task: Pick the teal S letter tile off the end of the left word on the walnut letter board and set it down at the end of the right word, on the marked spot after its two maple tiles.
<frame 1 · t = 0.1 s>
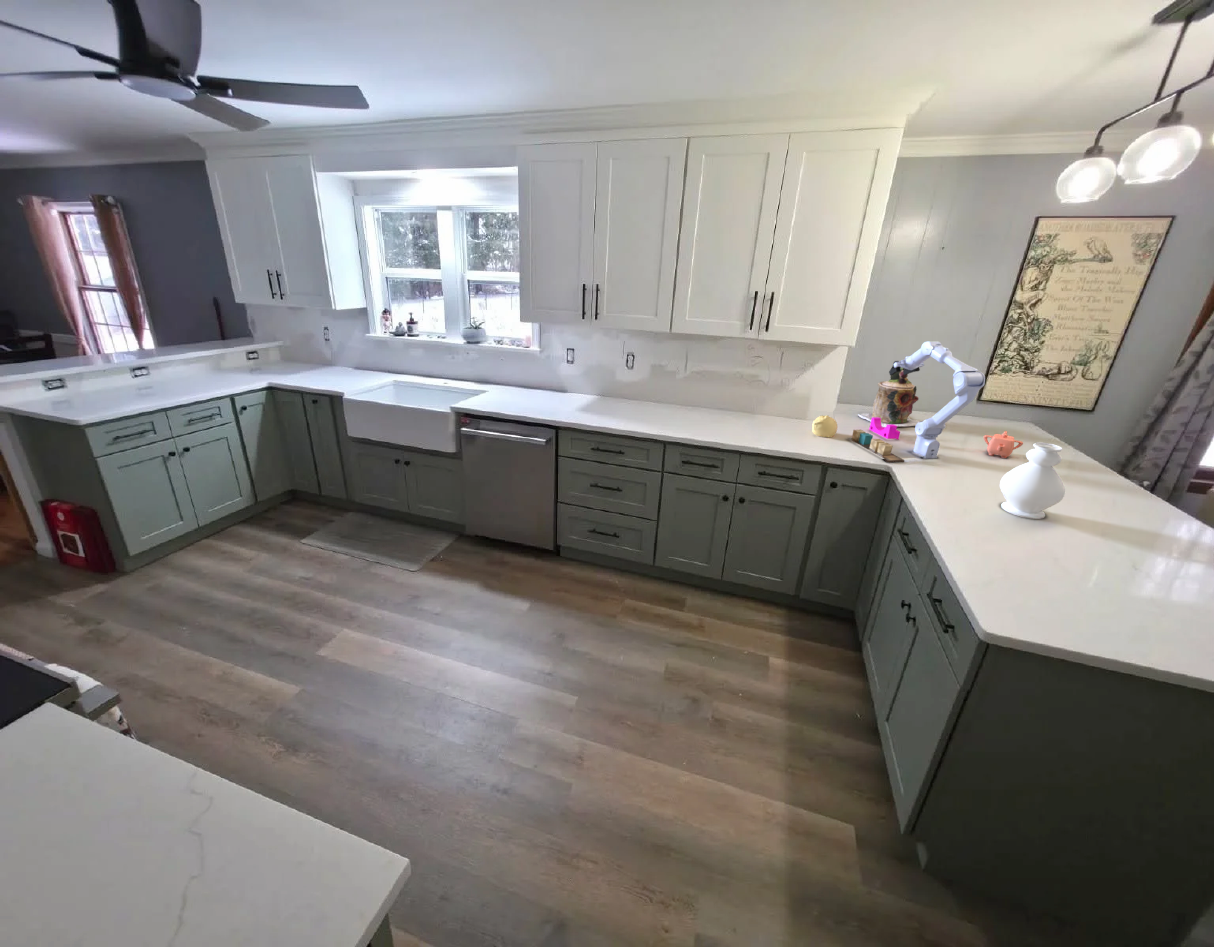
hand: (897, 373, 243), 32 cm above the countertop, tool tilted 50°, fingers open, 7 cm apart
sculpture: (822, 436, 253), on the countertop
decorative vase: (1022, 511, 179), on the countertop
letter board: (873, 450, 235), on the countertop
teapot: (997, 455, 232), on the countertop
s tile: (864, 443, 241), point 1 cm above the countertop, touching letter board
cookie jar: (889, 421, 278), on the countertop
toy block: (882, 435, 255), on the countertop
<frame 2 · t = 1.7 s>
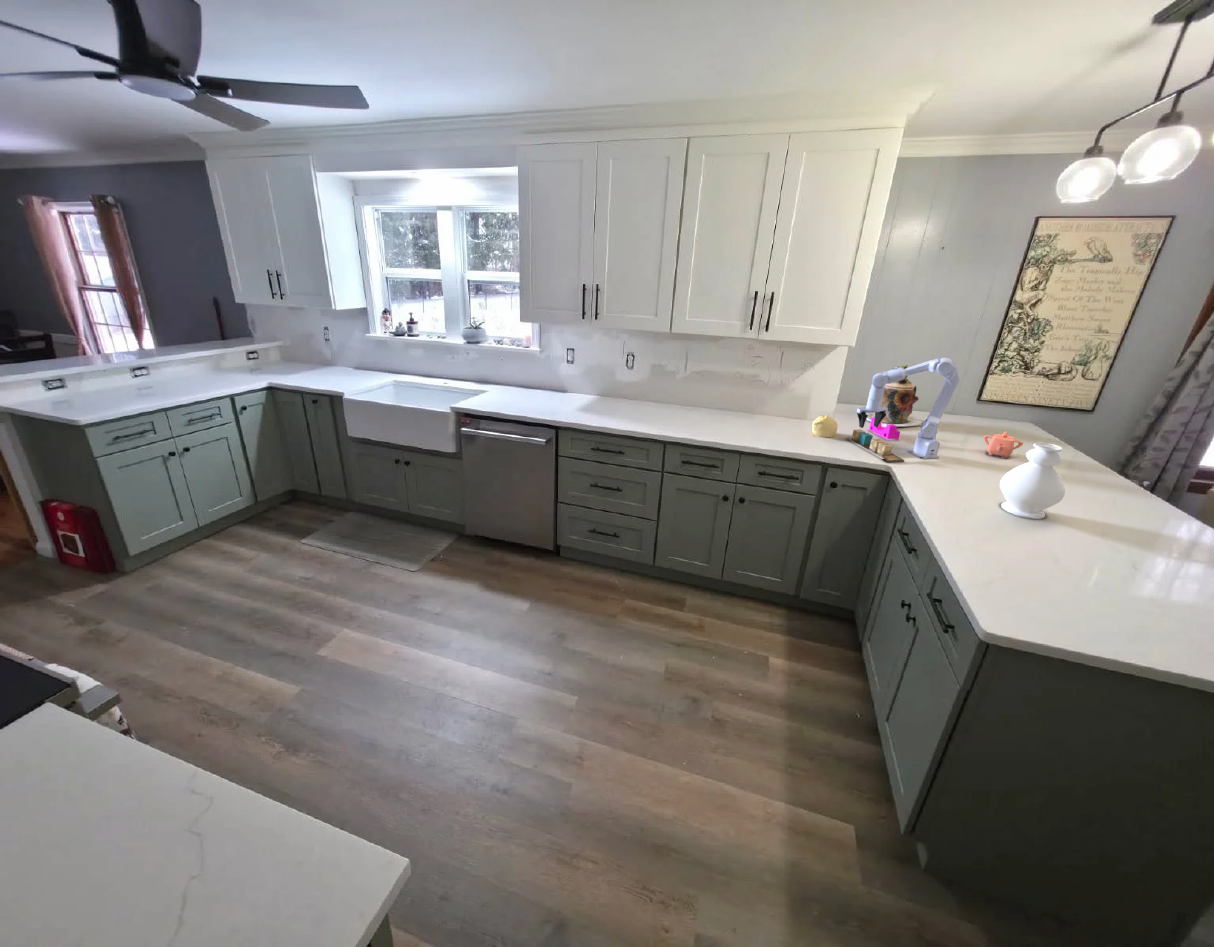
hand: (868, 426, 238), 9 cm above the countertop, tool pointing down, fingers open, 7 cm apart
nothing on the countertop moved.
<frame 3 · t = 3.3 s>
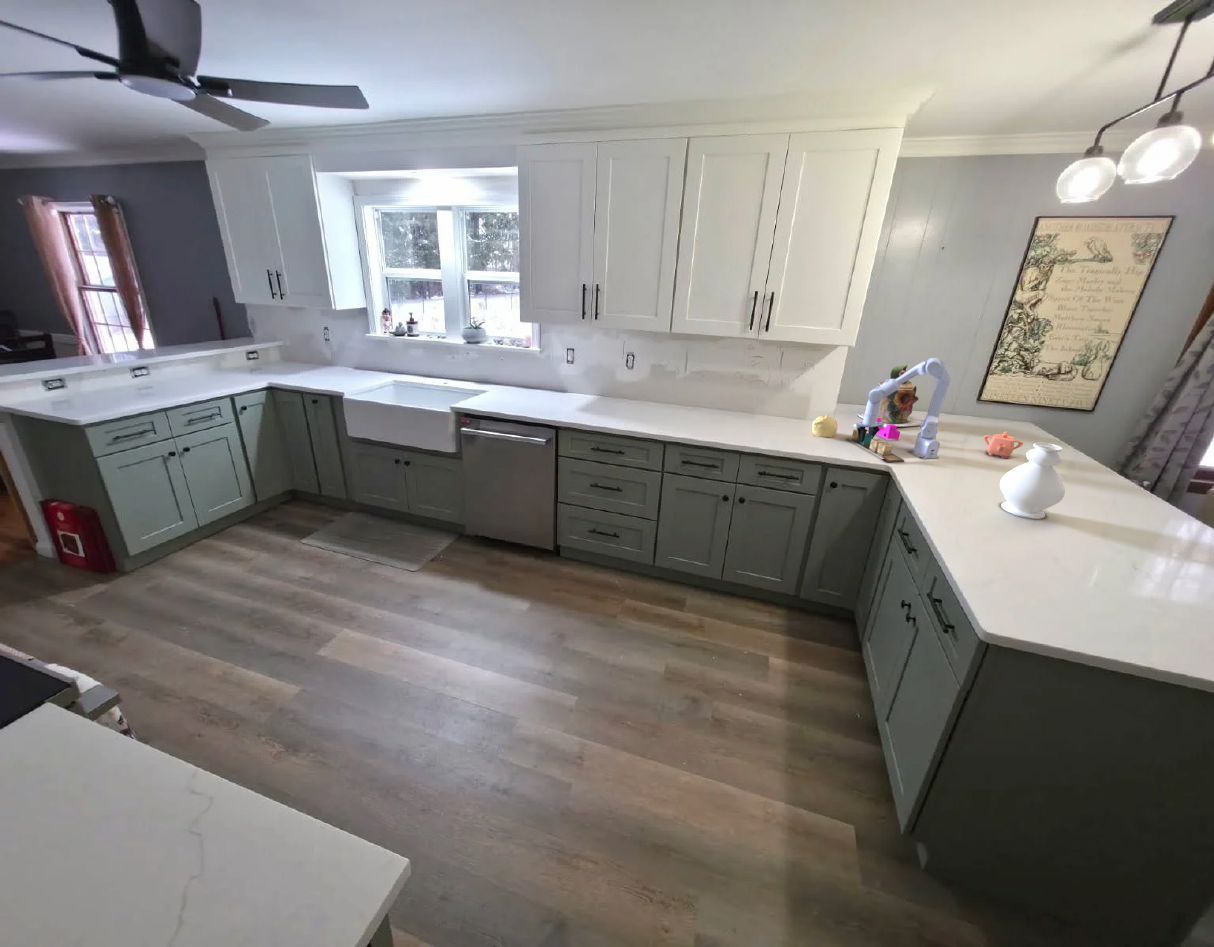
hand: (865, 441, 241), 2 cm above the countertop, tool pointing down, fingers closed on s tile, 4 cm apart
s tile: (864, 443, 241), point 1 cm above the countertop, touching gripper, letter board
everything else where it was.
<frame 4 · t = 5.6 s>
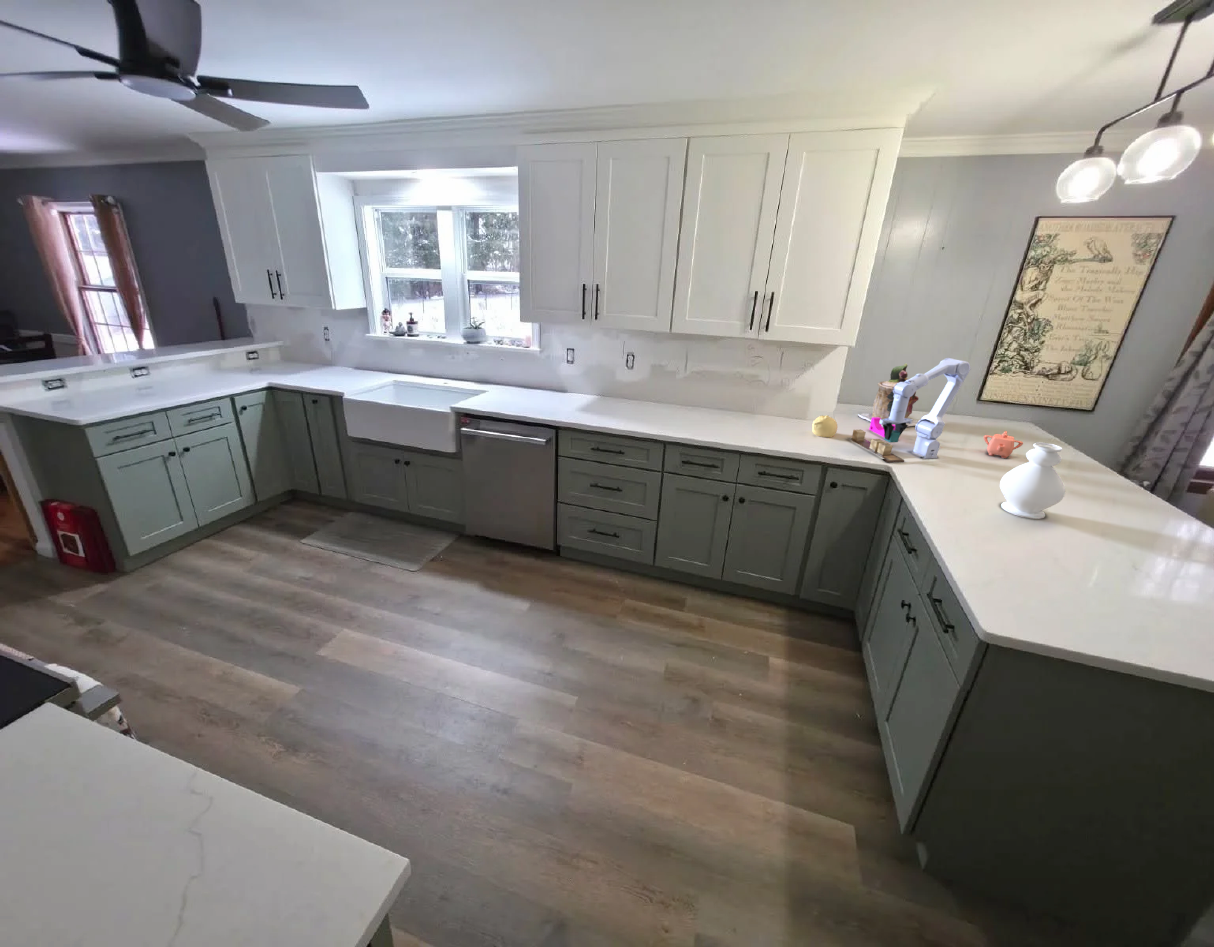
hand: (891, 439, 223), 9 cm above the countertop, tool pointing down, fingers closed on s tile, 4 cm apart
s tile: (890, 440, 223), point 8 cm above the countertop, touching gripper
everything else where it was.
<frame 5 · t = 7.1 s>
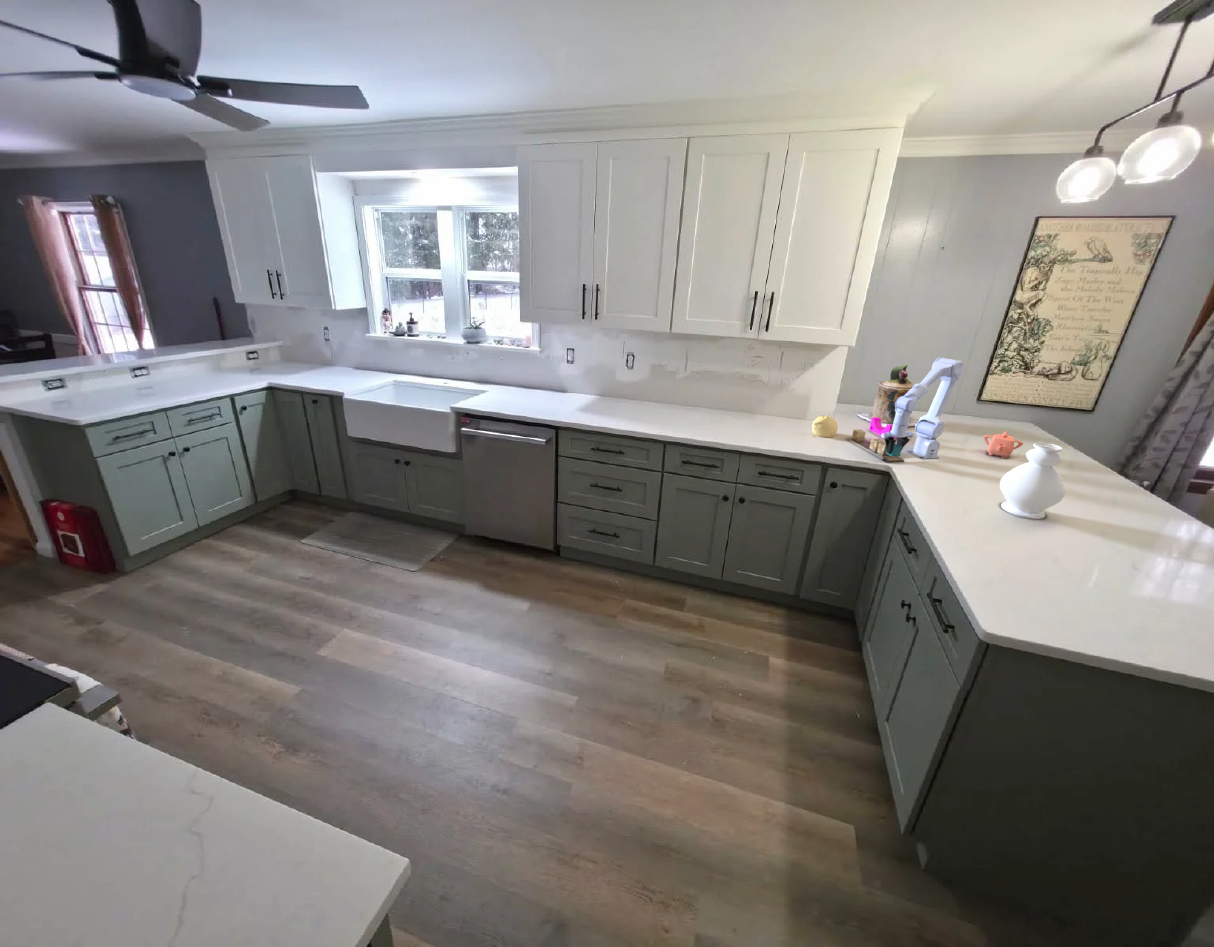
hand: (893, 452, 222), 3 cm above the countertop, tool pointing down, fingers closed on s tile, 4 cm apart
s tile: (892, 454, 223), point 3 cm above the countertop, touching gripper
everything else where it was.
when the fingers open (2 cm above the countertop, at t = 8.0 s): s tile stays where it is, resting on letter board.
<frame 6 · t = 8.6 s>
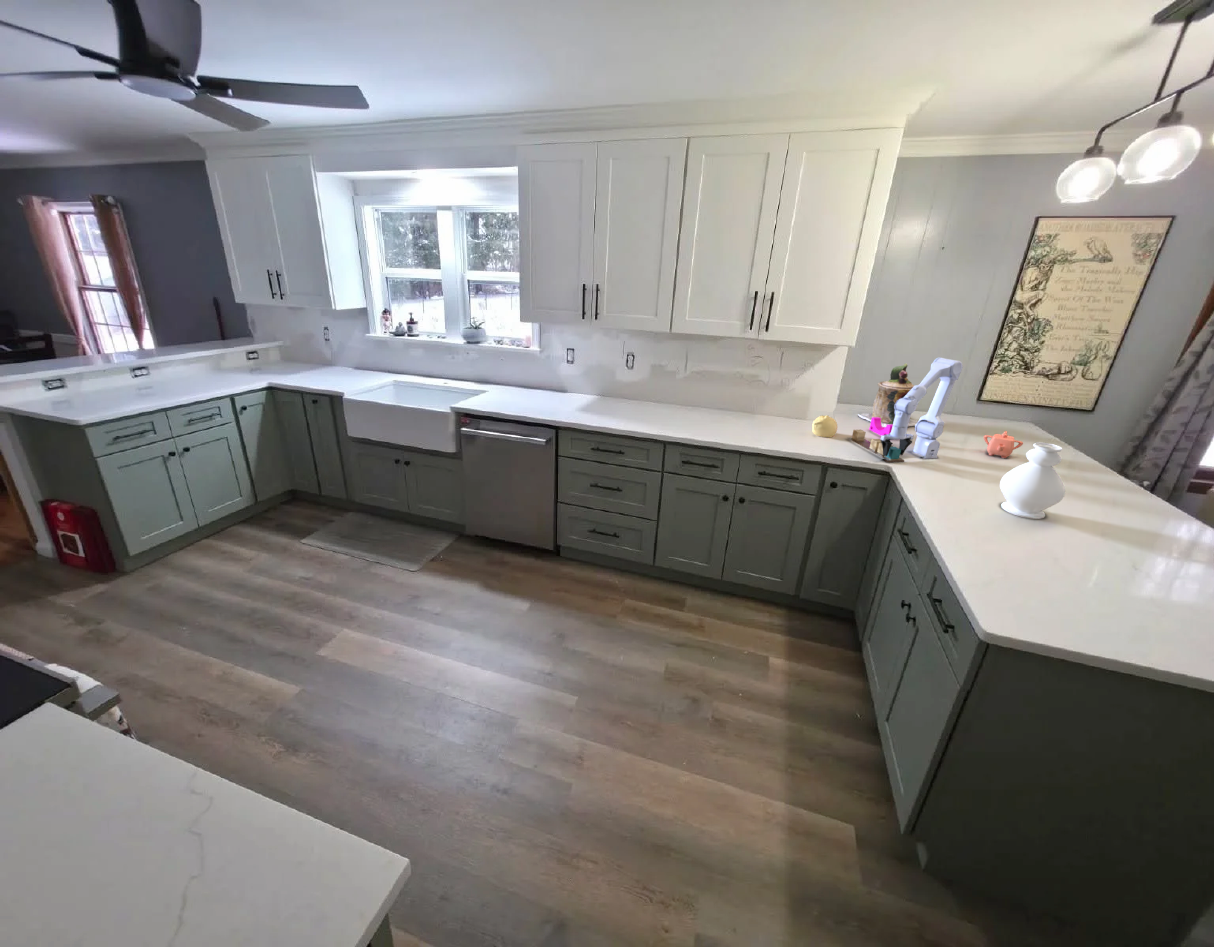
hand: (892, 454, 223), 3 cm above the countertop, tool pointing down, fingers open, 7 cm apart
s tile: (891, 457, 223), point 1 cm above the countertop, touching letter board
everything else where it was.
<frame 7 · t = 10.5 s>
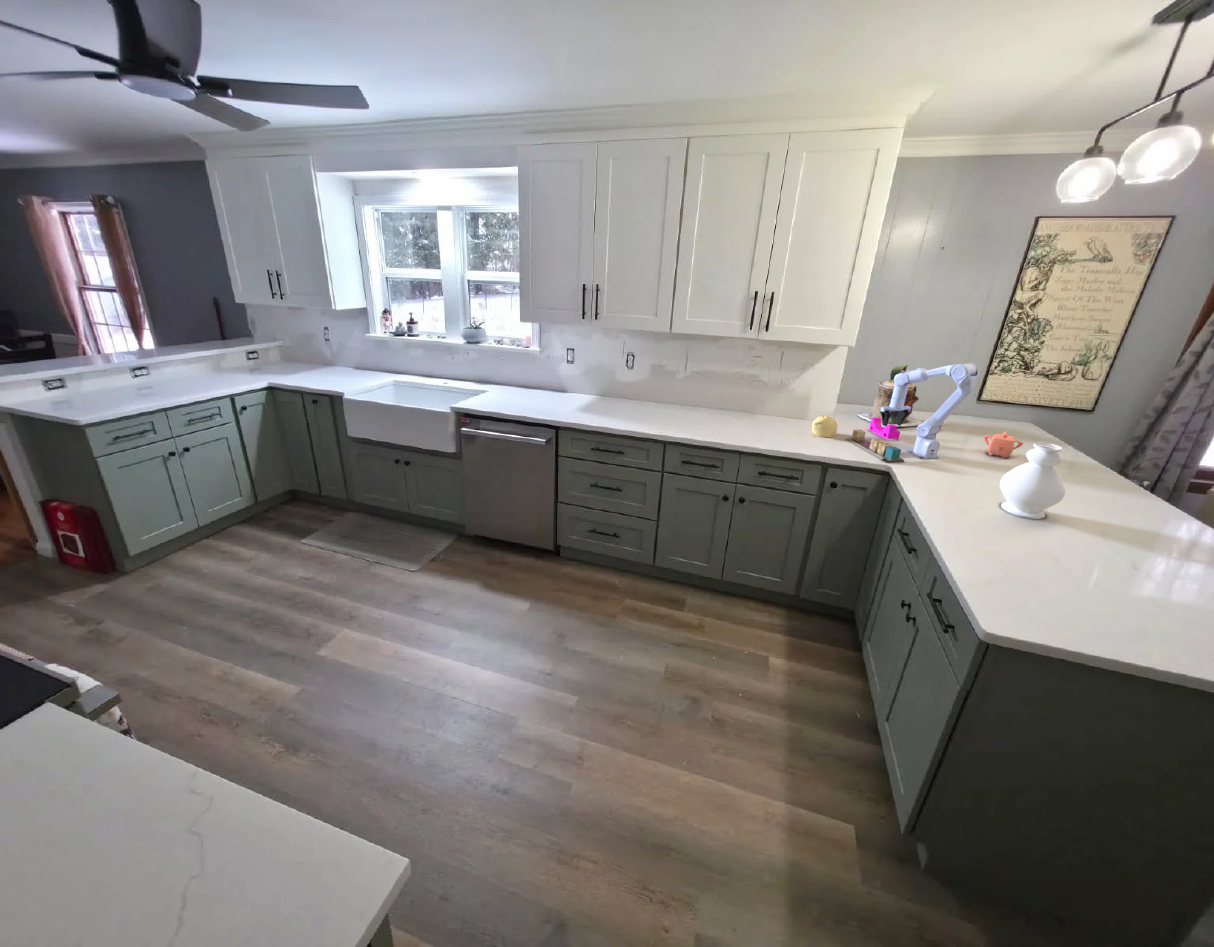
hand: (891, 425, 240), 9 cm above the countertop, tool pointing down, fingers open, 7 cm apart
nothing on the countertop moved.
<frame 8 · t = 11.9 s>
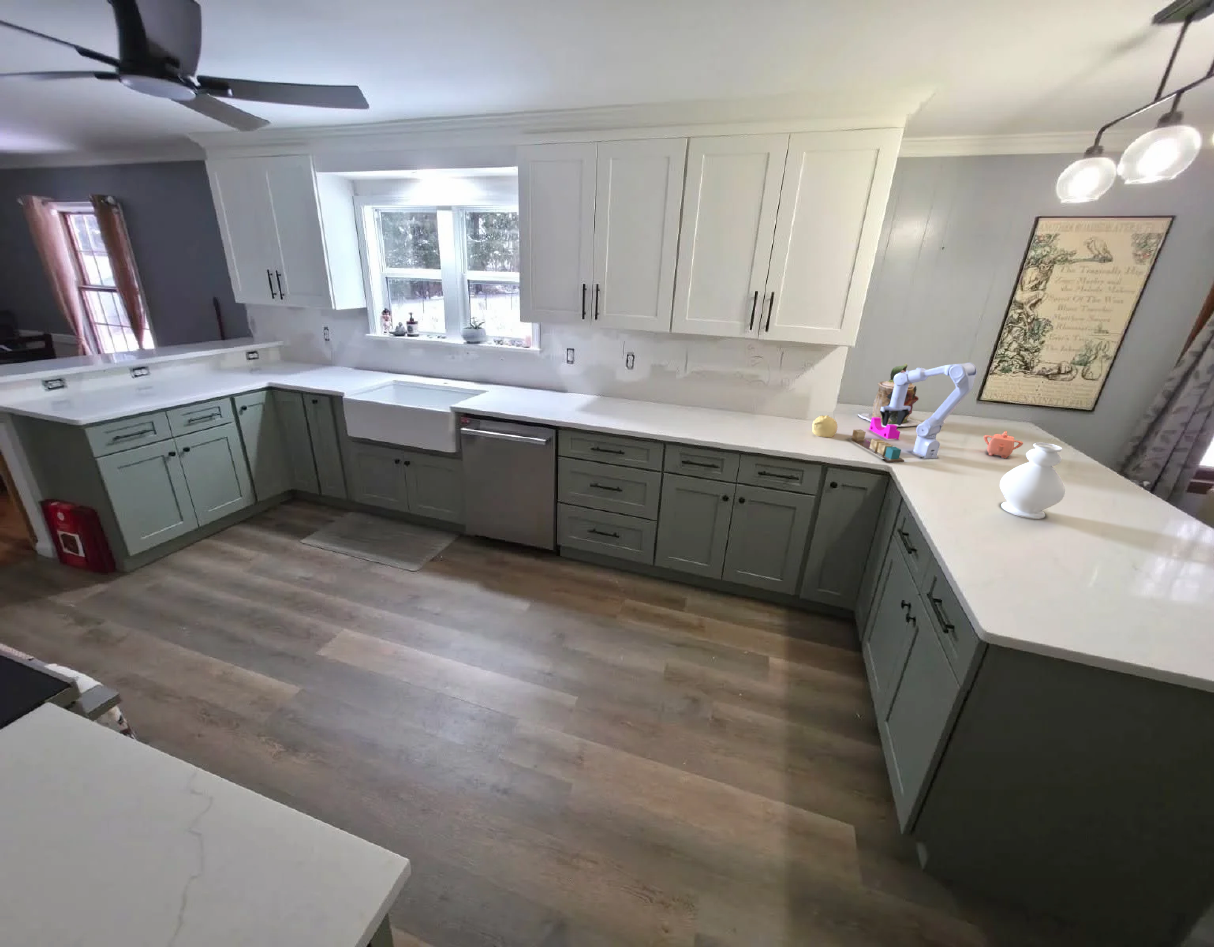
hand: (891, 425, 240), 9 cm above the countertop, tool pointing down, fingers open, 7 cm apart
nothing on the countertop moved.
at the end: s tile 0.1 cm from the target spot on the letter board, point 1.1 cm above the letter board's base; s tile tilted 0°; the gripper is holding nothing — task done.
